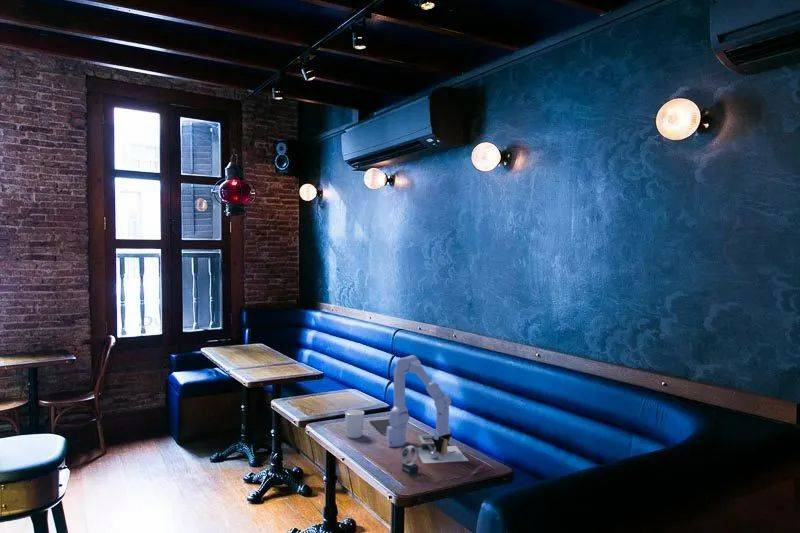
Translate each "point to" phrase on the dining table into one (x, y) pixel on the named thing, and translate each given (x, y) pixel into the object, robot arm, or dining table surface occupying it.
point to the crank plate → (450, 456)
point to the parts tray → (425, 438)
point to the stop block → (444, 447)
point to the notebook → (381, 425)
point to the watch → (409, 466)
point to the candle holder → (354, 423)
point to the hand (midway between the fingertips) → (441, 450)
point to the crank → (431, 450)
